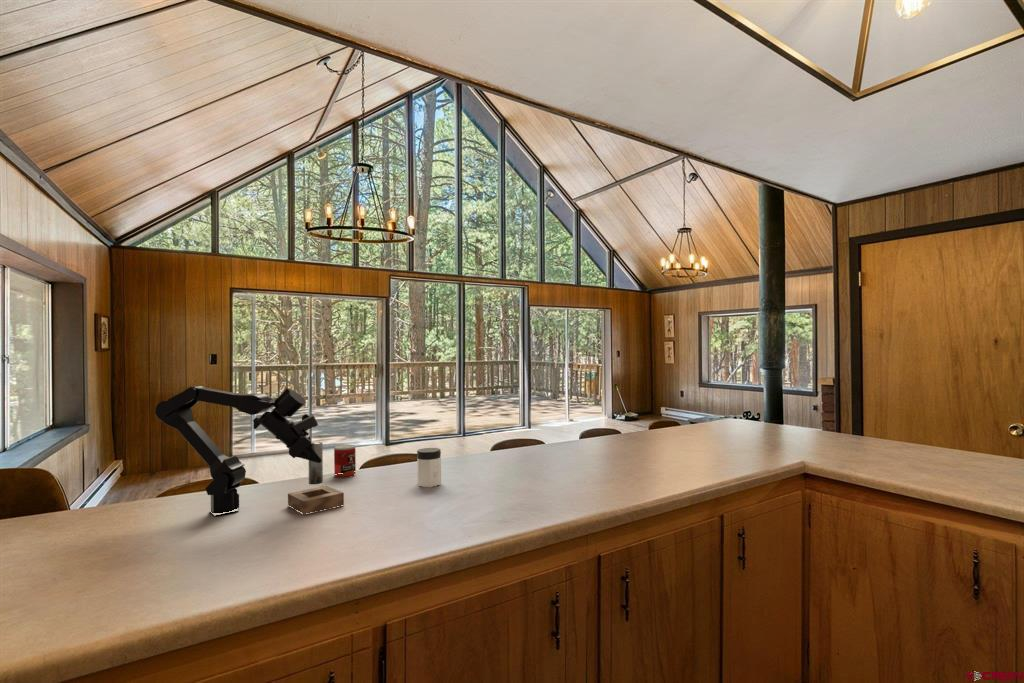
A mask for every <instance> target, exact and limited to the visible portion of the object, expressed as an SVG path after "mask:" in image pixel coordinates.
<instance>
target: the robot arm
mask: <svg viewBox="0 0 1024 683" xmlns="http://www.w3.org/2000/svg"><path fill="white" fill-rule="evenodd" d="M199 402H203V403H210V404H216V405H220V406H225V407H226V406H227V407H232V408H234V409H236V410H237V411H239V412H242V413H244V414H247V415H249V416H254V415H258V414H262V415H260V416H259V417H254V419H253V420H252V421H253V427H252V429H253V430H256V429H258V427H260V426H262V428H265V430H267V431H268V432H269V433H271V434H272V436H274V438H275V439H276V440H278V441H280V442H281V443H283V445H285V446H286V448H287V450H288V455H289V456H291V457H292V459H295V458H298V459H303V460H306V461H309V460H310V461H313V462H317V463H320V462H321V461H322V460H321V458H320V457H319V456H318V455H317V453H316V452H315V451H314V450H313V449H312V447H311V443H312V440H311V439H312V438H311V435H310V432H308V431H309V430H310V429H312V428H315V427H318V426H319V423H318V421H317V419H316V417H315V415H314V414H311V415H309V414H307V413H305V414H303V415H301V419H300V420H299V421H298V422H294V421H290V420H289V419H288V418H291V417H293V415H295V414H296V413H297V412H298V411H299V410H300V409H301V408H302V407H303V406H304V405H305V404H306V400H305V398H304V397H303V395H301V394H299V393H298V392H296V391H294V390H292V389H291V388H290V387H288V388H286V389H284V391H283V392H282V393H281V394H280V395H279V396H278V397H277V398H272V397H269V395H268V394H266V393H236V392H233V391H227V390H222V389H221V390H220V389H215V388H209V387H205V386H202V385H194V386H189V387H188V388H186V389H184V391H182V392H179V393H177V394H176V395H174V396H172V397H170V398H168V399H167V400H162V401H160V402H158V403H157V405H156V406H155V411H154V414H155V417H156V418H157V419H159V420H160V421H161V422H162V423H163V424H165V425H167V426H168V427H171V428H173V429H175V430H177V431H178V432H179V433H180V435H181V436H182V437H183V438H184V440H185V441H187V443H188V444H189V445H190V447H192V449H194V450H195V452H196V453H197V454H198V455H199V456H200V457H201V458H202V459H203V461H204V462H205V463H206V464H207V465H208V467H209V473H210V477H211V478H212V481H211V482H210V483H209V484H208V485H207V486H206V487H205V491H206V494H207V496H210V510H211V512H212V513H223V512H229V511H232V510H234V509H237V508H238V509H239V508H240V494H239V493H238V488H239V487H241V483H242V482H243V481H244V480H245V477H246V475H247V474H246V473H247V471H246V470H247V469H246V468H245V464H244V463H242V461H240V459H239V457H238V456H237V455H232V456H227V455H225V453H223V451H222V450H221V449H220V448H219V447H218V446H217V445H216V444H215V443H214V441H213V440H212V439H211V438H210V436H209V435H208V434H207V433H206V432H205V431H204V430H203V429H202V427H201V426H200V425H199V424H198V423H197V422H196V421H195V419H194V413H193V410H192V408H193V407H195V406H196V405H197V404H198V403H199ZM272 408H273V409H272ZM269 409H272V410H271V411H269ZM287 417H288V418H287ZM307 436H308V437H307Z"/></svg>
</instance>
